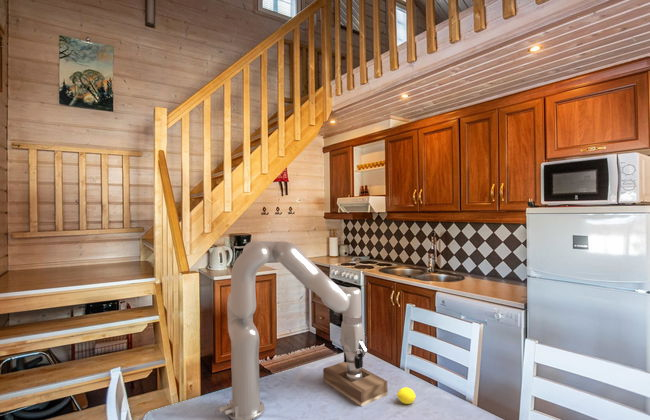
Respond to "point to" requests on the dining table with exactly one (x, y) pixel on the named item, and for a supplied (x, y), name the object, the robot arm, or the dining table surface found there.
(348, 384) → the brown slotted block
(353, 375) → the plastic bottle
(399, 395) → the lemon
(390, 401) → the dining table surface
